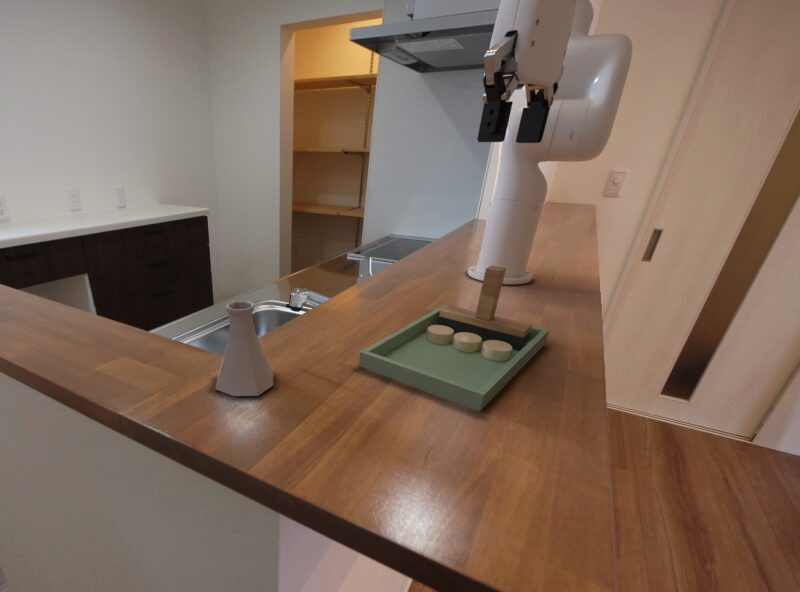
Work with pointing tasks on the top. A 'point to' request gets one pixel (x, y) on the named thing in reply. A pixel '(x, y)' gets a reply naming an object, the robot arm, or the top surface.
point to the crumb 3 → (496, 350)
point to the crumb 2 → (467, 342)
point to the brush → (487, 315)
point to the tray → (446, 363)
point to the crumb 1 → (439, 334)
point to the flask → (243, 355)
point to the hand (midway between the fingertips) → (510, 142)
